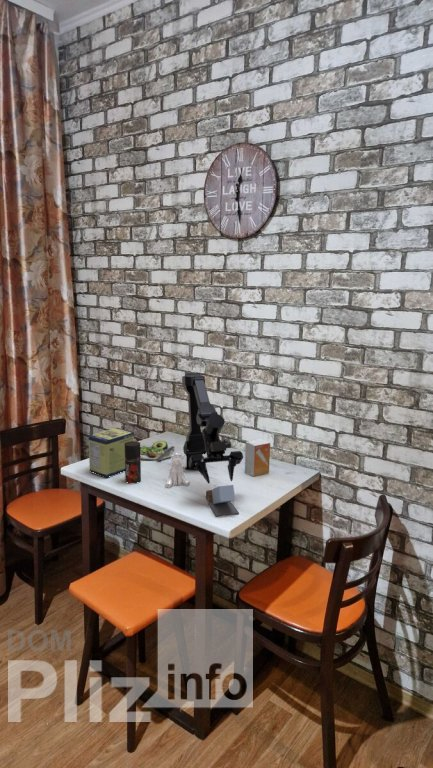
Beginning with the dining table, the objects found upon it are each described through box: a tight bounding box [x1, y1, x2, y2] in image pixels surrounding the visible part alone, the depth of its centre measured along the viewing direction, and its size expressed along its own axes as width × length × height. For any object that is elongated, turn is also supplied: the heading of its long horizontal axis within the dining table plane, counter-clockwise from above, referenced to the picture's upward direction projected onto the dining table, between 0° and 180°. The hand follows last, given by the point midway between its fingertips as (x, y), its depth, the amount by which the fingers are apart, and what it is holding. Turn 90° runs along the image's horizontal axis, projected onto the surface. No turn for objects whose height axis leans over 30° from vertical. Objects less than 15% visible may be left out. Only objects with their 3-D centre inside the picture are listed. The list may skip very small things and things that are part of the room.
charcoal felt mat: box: [207, 501, 240, 518], centre depth 179 cm, size 10×8×1 cm
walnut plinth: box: [205, 489, 213, 504], centre depth 186 cm, size 4×7×3 cm, turn 106°
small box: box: [244, 438, 271, 477], centre depth 212 cm, size 8×6×13 cm
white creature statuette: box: [164, 452, 191, 489], centre depth 200 cm, size 10×9×12 cm
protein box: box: [88, 427, 135, 478], centre depth 212 cm, size 10×16×16 cm
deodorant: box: [124, 440, 142, 484], centre depth 201 cm, size 6×6×15 cm
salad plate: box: [140, 440, 175, 462], centre depth 232 cm, size 19×18×5 cm
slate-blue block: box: [211, 484, 236, 504], centre depth 178 cm, size 5×5×10 cm
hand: (220, 481), depth 181 cm, fingers open, 8 cm apart
